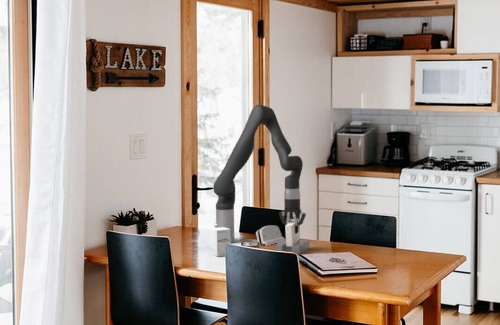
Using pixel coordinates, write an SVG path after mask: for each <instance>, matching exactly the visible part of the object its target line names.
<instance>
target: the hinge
mask: <svg viewBox="0 0 500 325" xmlns="http://www.w3.org/2000/svg"><path fill="white" fill-rule="evenodd" d="M255 235H256V239H257V242H258V241H259V243H260V244H262V245H265V247H268V246H267V245H269V246H272V245H271V244H273V245H276V244H275V243H279V242H281V241H283V240H285V239H286V238H285V237H283V236H282V232H281V230H280V228H279V226H277V225H274V224H273V225H271V224H269V225H265V226H262V227H261V228H259V229H258V230H257V231H256V232H255Z"/></svg>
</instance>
